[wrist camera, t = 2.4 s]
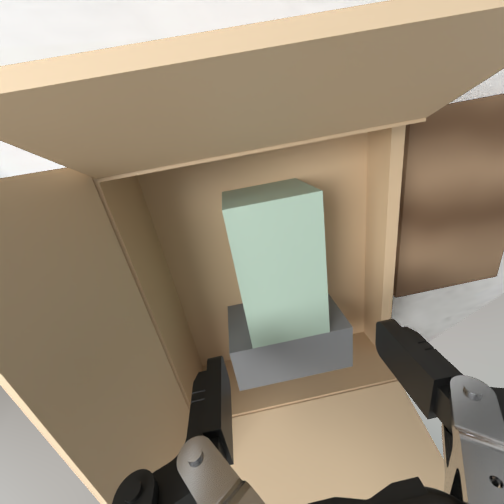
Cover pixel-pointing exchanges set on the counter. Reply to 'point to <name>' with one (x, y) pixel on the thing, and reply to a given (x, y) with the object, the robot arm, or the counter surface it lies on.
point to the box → (282, 286)
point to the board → (452, 197)
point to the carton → (220, 235)
